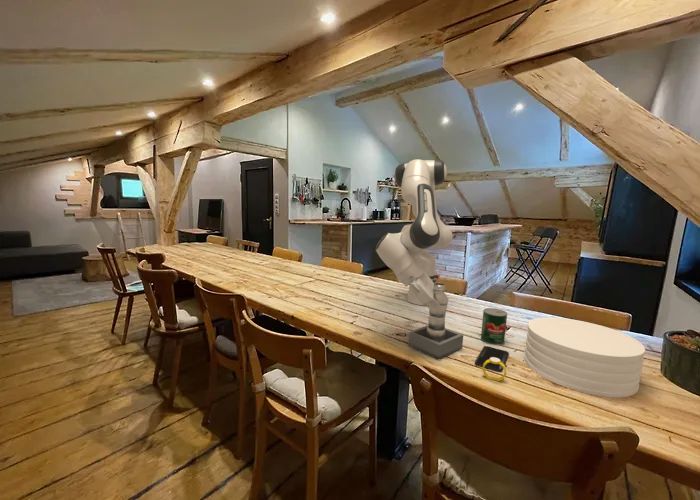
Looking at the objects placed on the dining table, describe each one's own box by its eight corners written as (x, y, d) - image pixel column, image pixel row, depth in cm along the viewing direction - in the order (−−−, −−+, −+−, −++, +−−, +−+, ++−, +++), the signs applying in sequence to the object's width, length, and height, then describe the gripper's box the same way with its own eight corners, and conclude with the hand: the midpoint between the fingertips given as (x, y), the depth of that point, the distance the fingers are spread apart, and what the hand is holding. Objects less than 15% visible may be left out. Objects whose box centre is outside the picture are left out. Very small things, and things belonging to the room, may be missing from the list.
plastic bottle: (444, 338, 110) (449, 282, 107) (445, 346, 103) (449, 287, 100) (426, 335, 111) (429, 281, 109) (425, 343, 105) (429, 285, 102)
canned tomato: (490, 346, 109) (493, 316, 108) (476, 337, 117) (478, 308, 115) (509, 344, 112) (512, 314, 110) (493, 335, 119) (496, 307, 117)
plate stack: (637, 369, 97) (643, 334, 95) (639, 412, 76) (647, 368, 74) (534, 341, 115) (538, 311, 113) (513, 369, 94) (517, 333, 93)
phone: (509, 351, 104) (501, 370, 92) (509, 355, 104) (501, 374, 92) (484, 345, 108) (473, 362, 96) (484, 348, 109) (473, 365, 96)
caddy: (432, 336, 116) (433, 323, 116) (462, 348, 107) (463, 334, 106) (408, 345, 108) (409, 331, 107) (438, 360, 99) (439, 345, 98)
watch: (482, 379, 89) (482, 359, 88) (483, 374, 91) (483, 355, 91) (505, 384, 86) (506, 363, 85) (506, 379, 88) (506, 359, 88)
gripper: (416, 274, 96) (447, 309, 94) (421, 263, 115) (446, 291, 114) (401, 287, 97) (431, 321, 96) (408, 274, 117) (433, 302, 116)
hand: (439, 305), depth 105 cm, fingers closed on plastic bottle, 6 cm apart
